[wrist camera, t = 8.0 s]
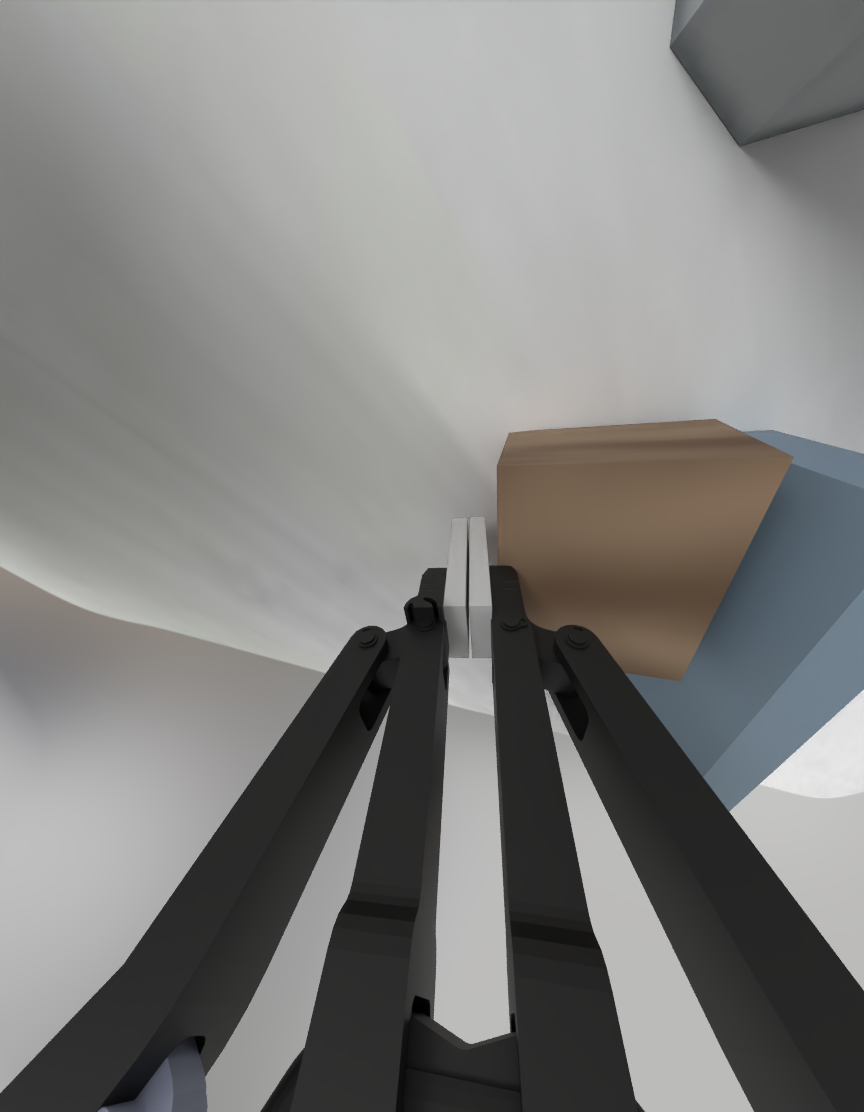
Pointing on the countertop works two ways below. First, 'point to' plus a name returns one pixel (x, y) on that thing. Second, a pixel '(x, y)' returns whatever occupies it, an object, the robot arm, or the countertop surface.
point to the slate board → (777, 629)
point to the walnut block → (633, 530)
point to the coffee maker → (773, 61)
